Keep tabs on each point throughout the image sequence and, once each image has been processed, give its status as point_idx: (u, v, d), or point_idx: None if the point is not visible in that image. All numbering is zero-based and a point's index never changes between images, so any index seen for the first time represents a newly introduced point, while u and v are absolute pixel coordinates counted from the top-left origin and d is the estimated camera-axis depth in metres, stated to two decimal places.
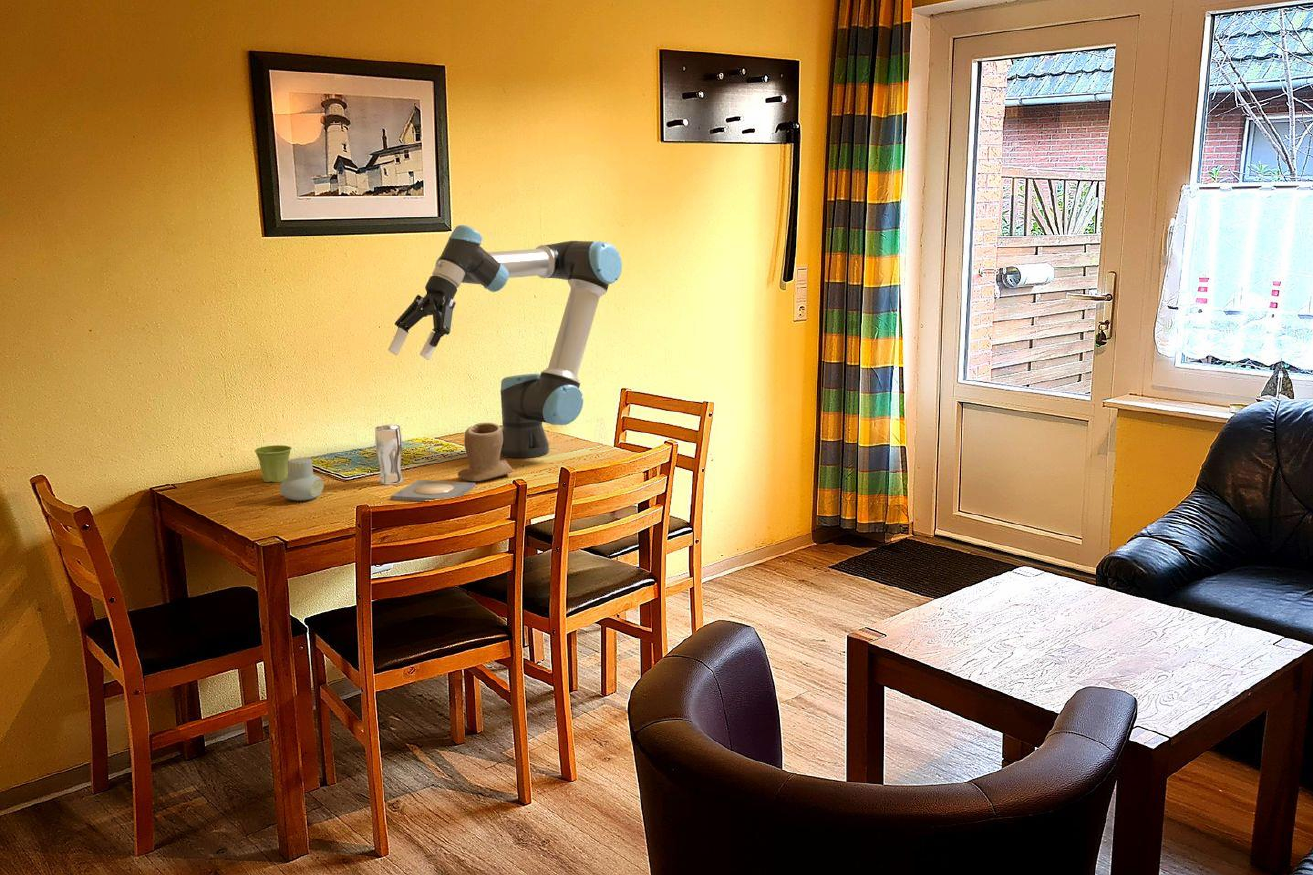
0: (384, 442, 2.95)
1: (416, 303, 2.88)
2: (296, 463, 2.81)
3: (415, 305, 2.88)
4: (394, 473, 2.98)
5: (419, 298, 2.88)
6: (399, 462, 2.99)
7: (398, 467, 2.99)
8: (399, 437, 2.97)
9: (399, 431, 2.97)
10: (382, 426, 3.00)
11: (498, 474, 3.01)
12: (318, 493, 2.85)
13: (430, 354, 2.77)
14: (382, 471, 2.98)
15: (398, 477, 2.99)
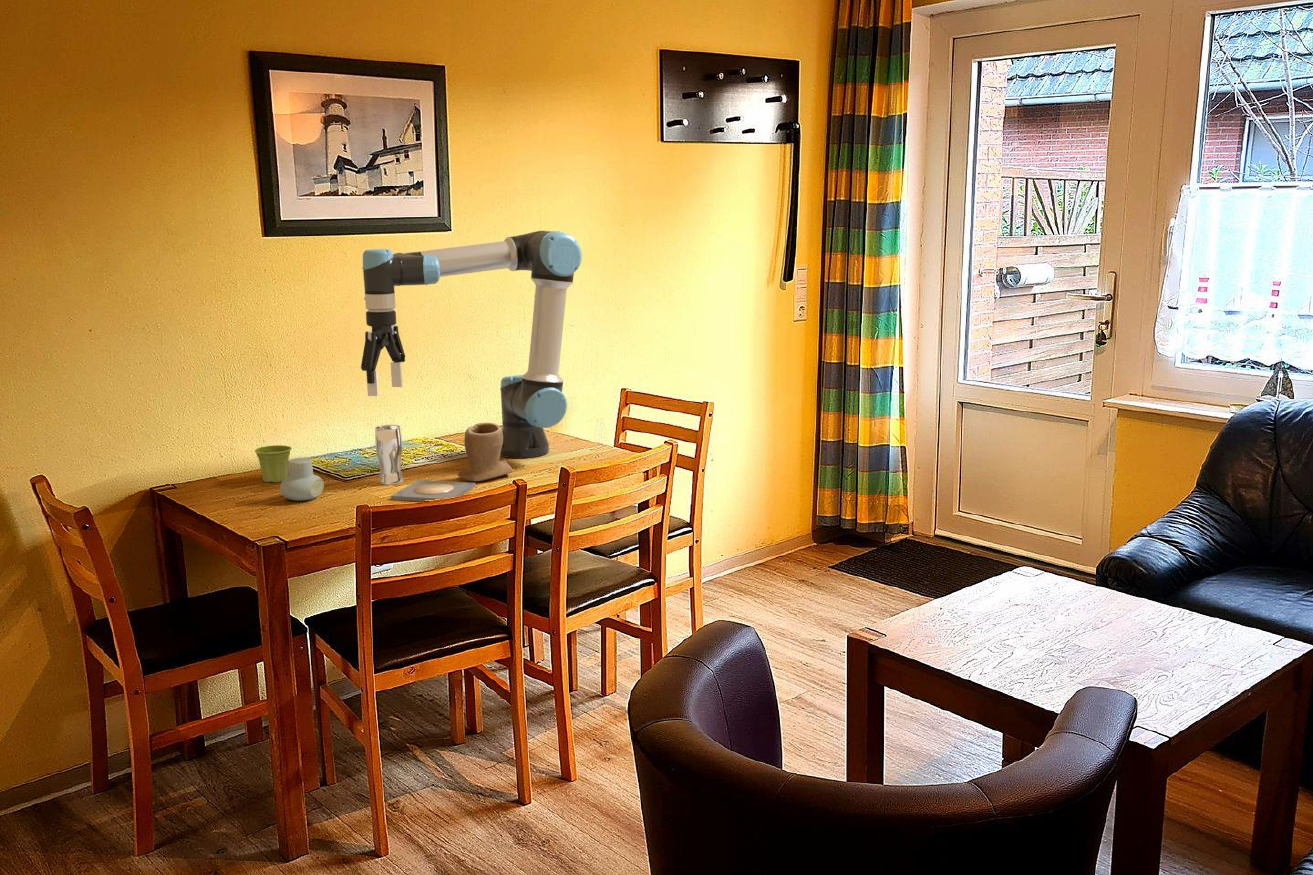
0: (384, 442, 2.95)
1: None
2: (296, 463, 2.81)
3: None
4: (394, 473, 2.98)
5: None
6: (399, 462, 2.99)
7: (398, 467, 2.99)
8: (399, 437, 2.97)
9: (399, 431, 2.97)
10: (382, 426, 3.00)
11: (498, 474, 3.01)
12: (318, 493, 2.85)
13: (375, 390, 2.88)
14: (382, 471, 2.98)
15: (398, 477, 2.99)
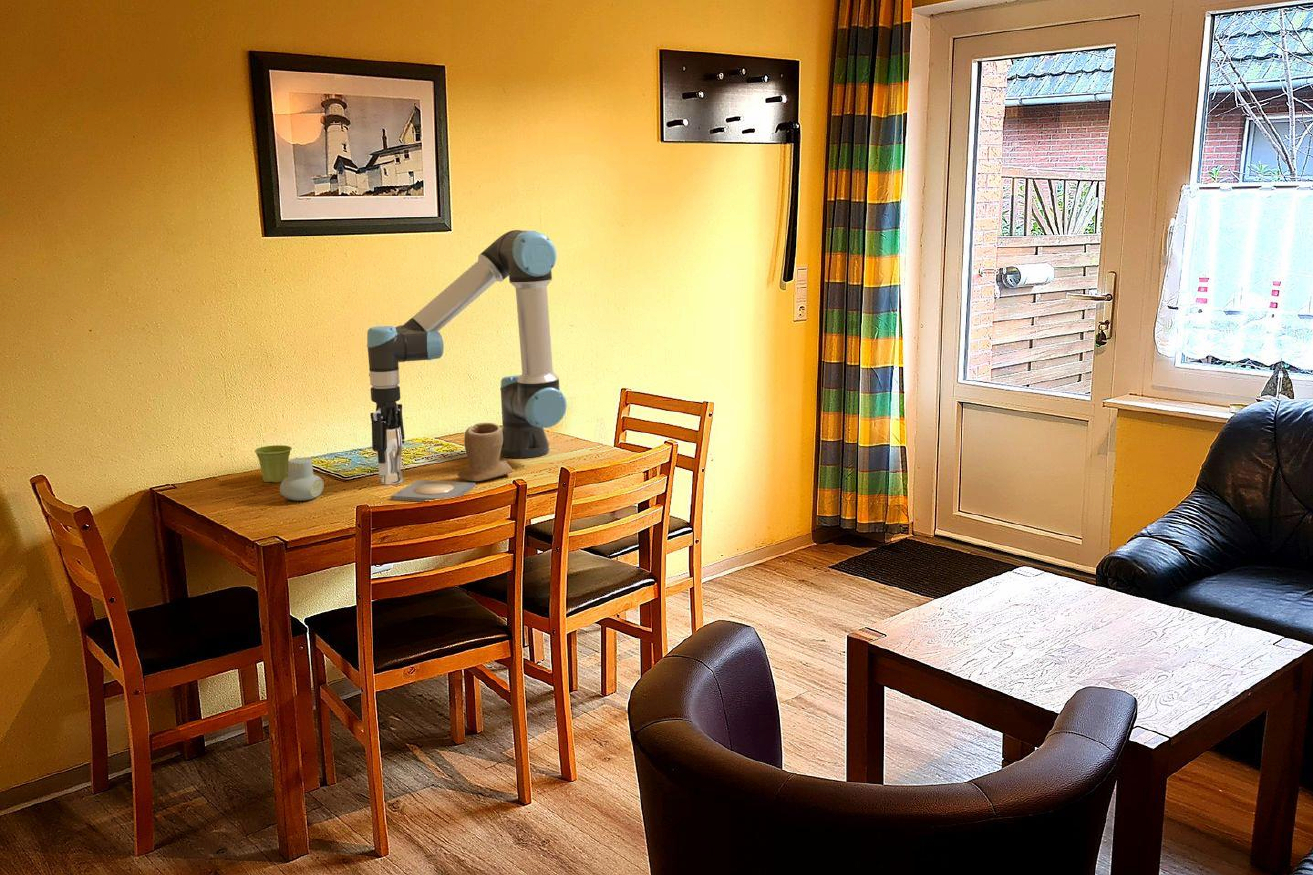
0: None
1: None
2: (296, 463, 2.81)
3: None
4: (394, 473, 2.98)
5: None
6: (399, 462, 2.99)
7: (398, 467, 2.99)
8: (399, 437, 2.97)
9: (399, 431, 2.97)
10: None
11: (498, 474, 3.01)
12: (318, 493, 2.85)
13: (386, 470, 2.96)
14: None
15: (398, 477, 2.99)
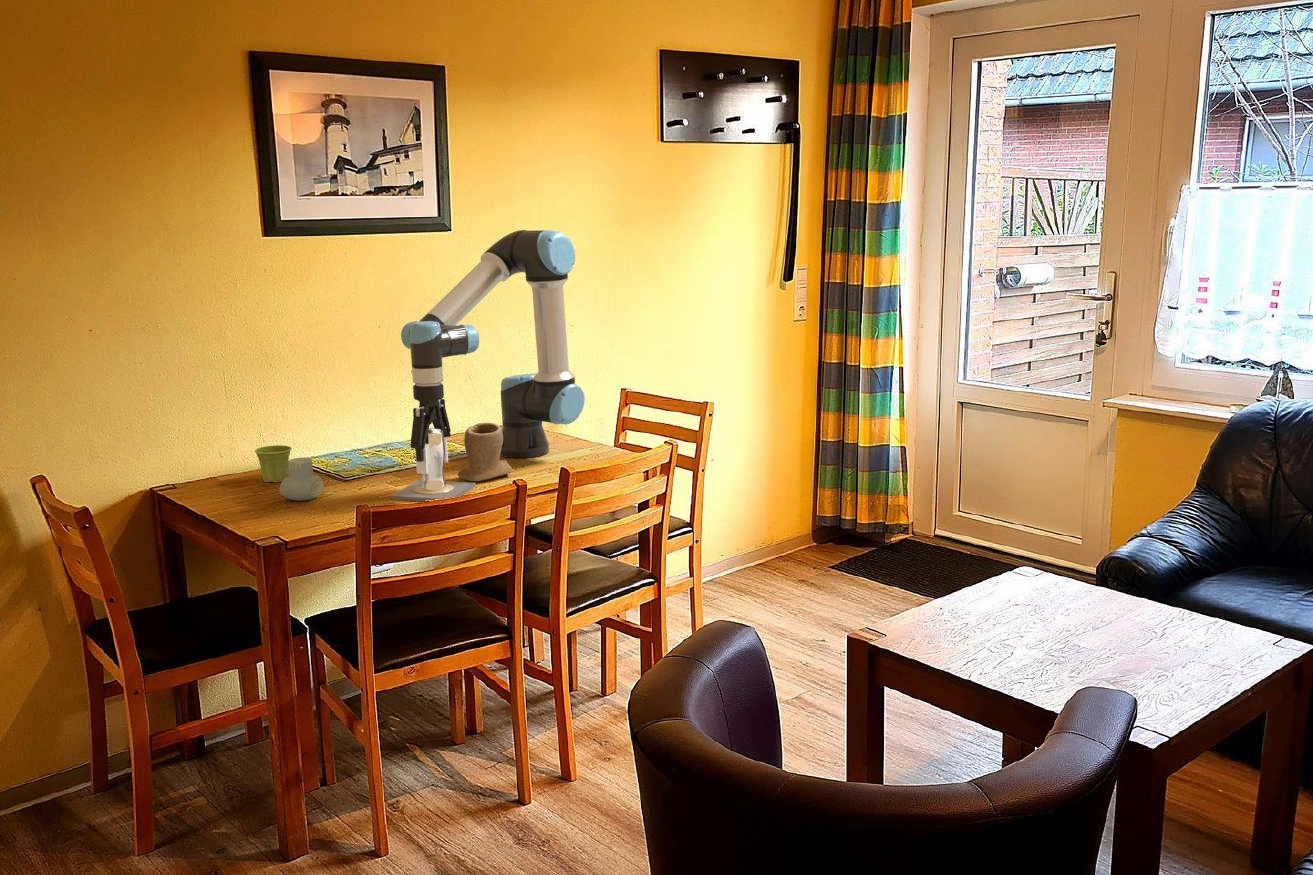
0: (427, 447, 2.83)
1: None
2: (296, 463, 2.81)
3: None
4: (437, 479, 2.87)
5: None
6: (442, 467, 2.87)
7: (441, 472, 2.87)
8: (442, 441, 2.85)
9: (442, 435, 2.85)
10: None
11: (498, 474, 3.01)
12: (318, 493, 2.85)
13: (425, 468, 2.81)
14: (425, 477, 2.87)
15: (441, 483, 2.87)
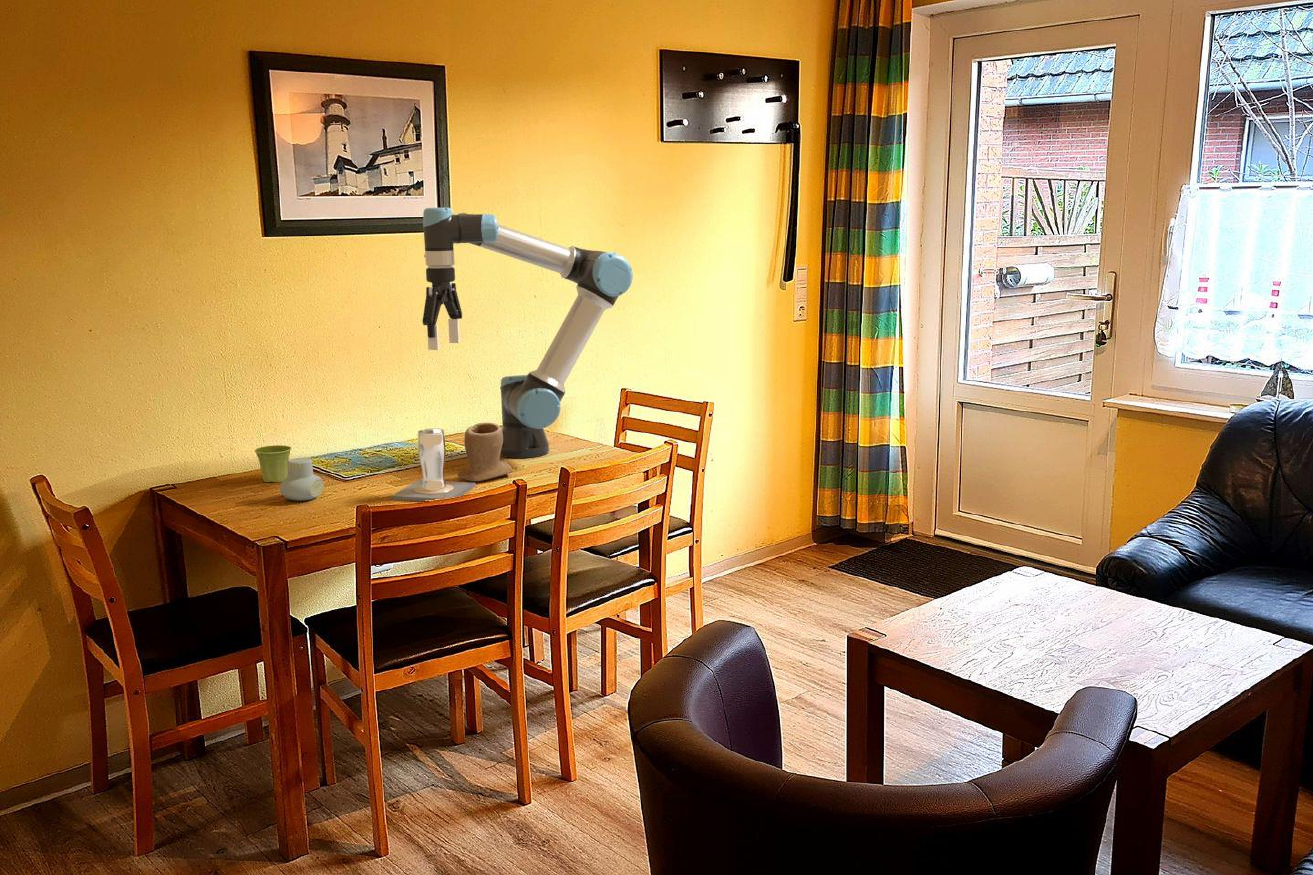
0: (427, 447, 2.83)
1: None
2: (296, 463, 2.81)
3: None
4: (437, 479, 2.87)
5: None
6: (442, 467, 2.87)
7: (441, 473, 2.87)
8: (443, 441, 2.85)
9: (443, 435, 2.86)
10: (424, 430, 2.88)
11: (498, 474, 3.01)
12: (318, 493, 2.85)
13: (436, 345, 2.96)
14: (425, 477, 2.87)
15: (441, 483, 2.87)
